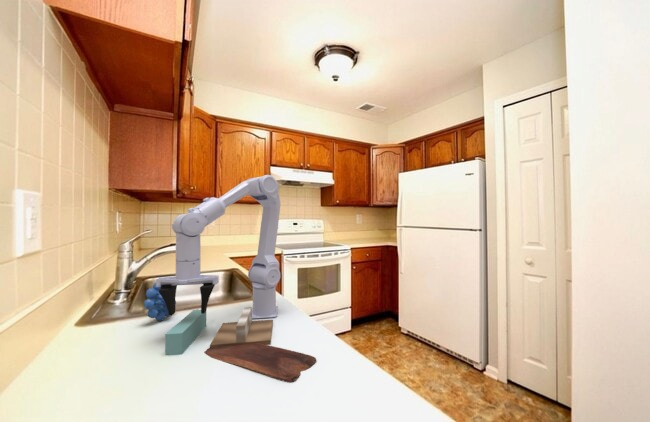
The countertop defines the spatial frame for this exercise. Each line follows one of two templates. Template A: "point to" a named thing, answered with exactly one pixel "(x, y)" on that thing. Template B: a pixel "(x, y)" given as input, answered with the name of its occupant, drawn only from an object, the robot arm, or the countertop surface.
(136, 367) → the countertop surface
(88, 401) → the countertop surface
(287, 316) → the countertop surface
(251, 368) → the wooden tablet
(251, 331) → the ridge
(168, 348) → the teal rectangular bar
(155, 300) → the grapes
